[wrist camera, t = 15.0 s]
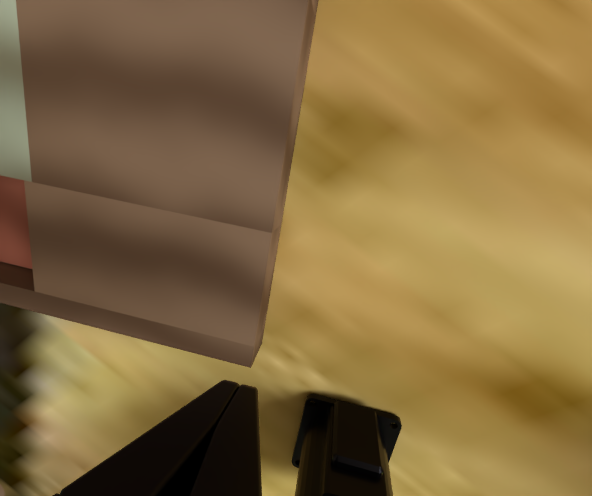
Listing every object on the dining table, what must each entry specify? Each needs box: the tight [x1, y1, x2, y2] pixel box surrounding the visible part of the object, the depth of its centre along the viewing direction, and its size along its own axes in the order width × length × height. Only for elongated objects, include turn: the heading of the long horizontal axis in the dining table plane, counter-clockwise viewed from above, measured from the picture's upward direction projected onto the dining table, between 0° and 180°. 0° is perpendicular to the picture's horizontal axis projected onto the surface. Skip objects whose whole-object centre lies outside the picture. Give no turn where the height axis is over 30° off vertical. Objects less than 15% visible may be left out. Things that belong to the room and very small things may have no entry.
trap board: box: [0, 0, 318, 368], centre depth 16 cm, size 27×24×2 cm
